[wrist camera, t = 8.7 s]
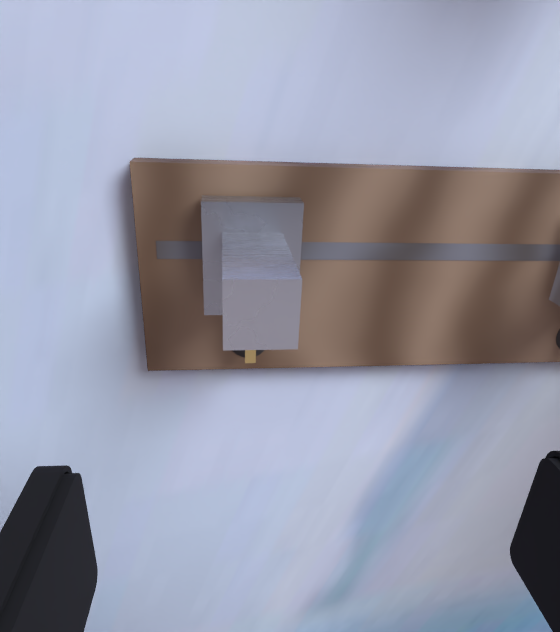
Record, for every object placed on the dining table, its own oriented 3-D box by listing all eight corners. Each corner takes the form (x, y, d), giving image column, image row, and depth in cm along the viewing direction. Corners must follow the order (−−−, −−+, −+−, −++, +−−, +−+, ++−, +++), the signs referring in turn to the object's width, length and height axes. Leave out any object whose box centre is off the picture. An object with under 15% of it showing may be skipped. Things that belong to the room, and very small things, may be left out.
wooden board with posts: (654, 172, 28) (854, 209, 19) (590, 349, 33) (726, 445, 24) (134, 157, 25) (84, 194, 16) (151, 357, 30) (120, 472, 21)
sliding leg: (299, 197, 25) (331, 240, 18) (290, 349, 29) (314, 437, 21) (202, 195, 24) (193, 239, 17) (206, 350, 28) (200, 441, 21)
